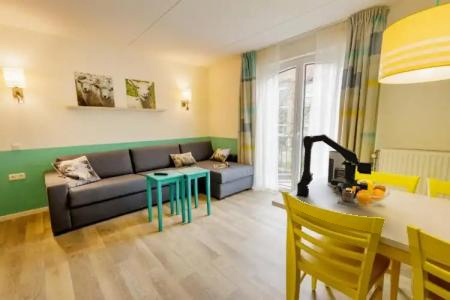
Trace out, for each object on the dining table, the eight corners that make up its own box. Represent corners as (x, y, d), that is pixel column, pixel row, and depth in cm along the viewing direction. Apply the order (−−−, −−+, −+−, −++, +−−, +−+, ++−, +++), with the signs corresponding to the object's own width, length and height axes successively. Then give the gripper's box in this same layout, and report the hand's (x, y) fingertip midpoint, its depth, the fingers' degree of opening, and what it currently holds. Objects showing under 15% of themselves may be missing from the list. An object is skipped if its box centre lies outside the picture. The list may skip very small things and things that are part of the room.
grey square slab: (337, 203, 127) (337, 194, 126) (339, 197, 135) (340, 189, 134) (357, 207, 121) (358, 198, 120) (358, 201, 129) (359, 192, 128)
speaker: (325, 183, 165) (327, 149, 161) (339, 183, 164) (341, 149, 160) (330, 187, 155) (332, 152, 151) (345, 187, 154) (348, 152, 150)
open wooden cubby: (342, 196, 132) (343, 188, 131) (354, 198, 129) (354, 189, 128) (341, 199, 127) (342, 190, 126) (353, 202, 124) (353, 192, 123)
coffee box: (332, 191, 146) (333, 169, 144) (333, 189, 151) (334, 167, 149) (347, 194, 141) (349, 170, 139) (348, 191, 146) (349, 168, 144)
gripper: (330, 173, 124) (328, 198, 127) (368, 178, 114) (366, 205, 116) (333, 169, 133) (331, 193, 136) (368, 173, 123) (366, 199, 125)
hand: (347, 197), depth 128 cm, fingers closed on open wooden cubby, 6 cm apart
